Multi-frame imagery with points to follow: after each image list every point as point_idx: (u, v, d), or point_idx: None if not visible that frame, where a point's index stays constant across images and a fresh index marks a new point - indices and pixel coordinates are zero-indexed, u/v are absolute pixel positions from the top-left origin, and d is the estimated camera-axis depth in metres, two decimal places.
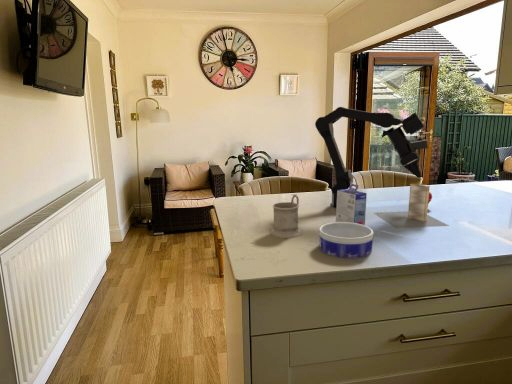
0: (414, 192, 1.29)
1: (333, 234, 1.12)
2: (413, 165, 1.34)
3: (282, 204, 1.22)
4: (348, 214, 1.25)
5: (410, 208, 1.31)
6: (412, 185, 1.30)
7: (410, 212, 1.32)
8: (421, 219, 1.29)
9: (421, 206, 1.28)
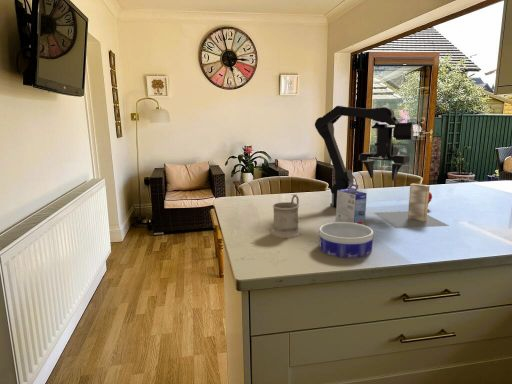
0: (414, 192, 1.29)
1: (333, 234, 1.12)
2: (397, 167, 1.38)
3: (282, 204, 1.22)
4: (348, 214, 1.25)
5: (410, 208, 1.31)
6: (412, 185, 1.30)
7: (410, 212, 1.32)
8: (421, 219, 1.29)
9: (421, 206, 1.28)
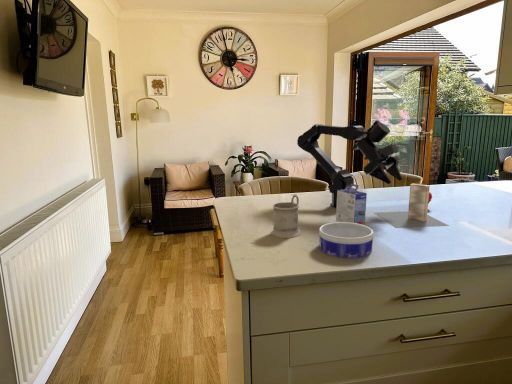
0: (414, 192, 1.29)
1: (333, 234, 1.12)
2: (379, 172, 1.33)
3: (282, 204, 1.22)
4: (348, 214, 1.25)
5: (410, 208, 1.31)
6: (412, 185, 1.30)
7: (410, 212, 1.32)
8: (421, 219, 1.29)
9: (421, 206, 1.28)
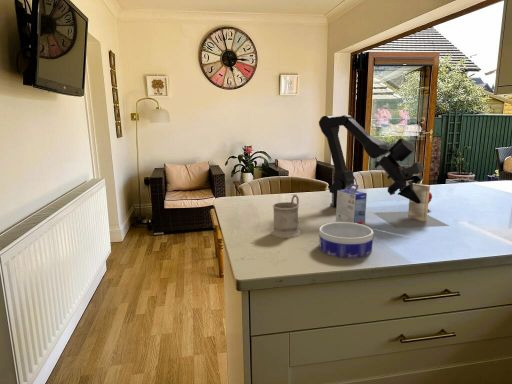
0: None
1: (333, 234, 1.12)
2: (408, 191, 1.30)
3: (282, 204, 1.22)
4: (348, 214, 1.25)
5: (410, 208, 1.31)
6: None
7: (410, 212, 1.32)
8: (421, 219, 1.29)
9: (421, 206, 1.28)
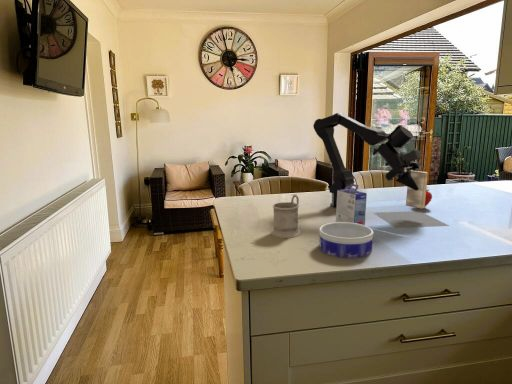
0: None
1: (333, 234, 1.12)
2: (406, 178, 1.29)
3: (282, 204, 1.22)
4: (348, 214, 1.25)
5: (408, 195, 1.31)
6: None
7: (408, 199, 1.32)
8: (419, 206, 1.29)
9: (419, 193, 1.28)
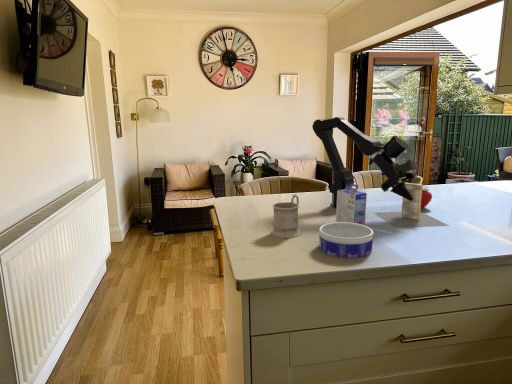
0: None
1: (333, 234, 1.12)
2: (401, 188, 1.31)
3: (282, 204, 1.22)
4: (348, 214, 1.25)
5: (403, 207, 1.33)
6: (405, 184, 1.32)
7: (403, 211, 1.34)
8: (414, 217, 1.31)
9: (414, 205, 1.30)
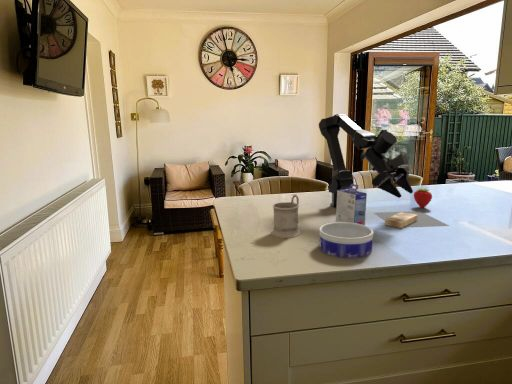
0: None
1: (333, 234, 1.12)
2: (389, 185, 1.24)
3: (282, 204, 1.22)
4: (348, 214, 1.25)
5: None
6: (387, 224, 1.25)
7: None
8: None
9: None
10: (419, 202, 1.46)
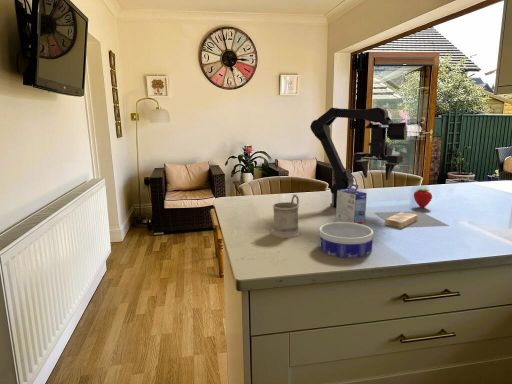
0: None
1: (333, 234, 1.12)
2: (390, 167, 1.39)
3: (282, 204, 1.22)
4: (348, 214, 1.25)
5: None
6: (387, 224, 1.25)
7: None
8: None
9: None
10: (419, 202, 1.46)
